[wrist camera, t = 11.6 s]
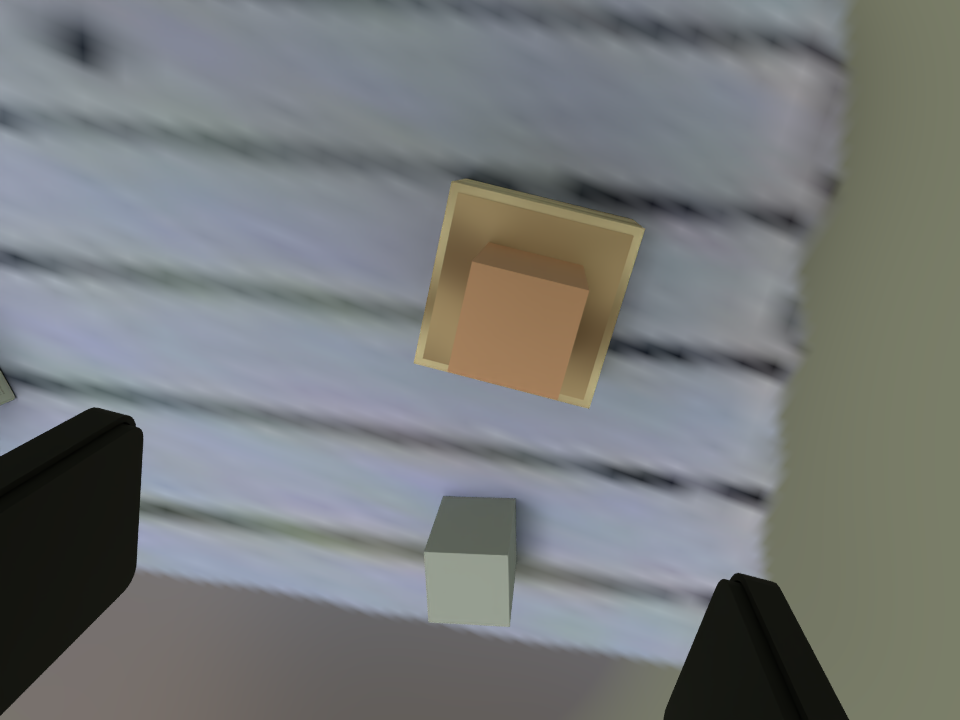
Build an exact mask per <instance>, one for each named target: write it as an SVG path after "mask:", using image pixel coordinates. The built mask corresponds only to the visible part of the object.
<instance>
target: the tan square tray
mask: <svg viewBox="0 0 960 720" xmlns="http://www.w3.org/2000/svg"><path fill="white" fill-rule="evenodd" d="M644 230H645V229H644V228H643V227H642V226H640V225H639V224H638V223H637V222H635V221H634V220H633V219H629V218H625V217H621V216H617V215H613V214H609V213H604V212H600V211H596V210H592V209H588V208H584V207H580V206H576V205H572V204H568V203H564V202H560V201H556V200H552V199H548V198H544V197H539V196H535V195H531V194H527V193H523V192H519V191H515V190H511V189H507V188H503V187H499V186H495V185H491V184H487V183H483V182H479V181H474V180H470V179H462V180H456V181H452V182H451V187H450V192H449V196H448V201H447V206H446V211H445V216H444V220H443V225H442V230H441V235H440V240H439V244H438V249H437V254H436V259H435V264H434V268H433V273H432V278H431V283H430V288H429V292H428V297H427V302H426V307H425V312H424V316H423V321H422V326H421V331H420V336H419V340H418V345H417V350H416V355H415V360H414V363H415V364H419V365H423V366H426V367H430V368H434V369H438V370H442V371H446V372H447V371H448V366H449V362H450V357H451V353H452V349H453V344H454V340H455V335H456V331H457V326H458V322H459V317H460V313H461V308H462V304H463V299H464V295H465V291H466V286H467V282H468V277H469V273H470V268H471V264H472V261H473V260H474V259H475V257H476V256H477V255H478V254H479V253H480V252H481V250H482V249H483V248H484V247H485V246H486V245H487V244H488V242H490V243H494V244H498V245H502V246H506V247H510V248H514V249H518V250H522V251H526V252H530V253H534V254H538V255H542V256H547V257H551V258H555V259H559V260H563V261H567V262H571V263H575V264H579V265H583V267H584V271H585V275H586V279H587V283H588V287H589V293H588V297H587V300H586V304H585V307H584V311H583V314H582V318H581V321H580V325H579V328H578V332H577V335H576V339H575V342H574V346H573V349H572V352H571V356H570V359H569V363H568V366H567V370H566V373H565V377H564V380H563V384H562V387H561V391H560V394H559V398H558V400H557V401H561V402H565V403H569V404H573V405H577V406H581V407H584V408H588V409H589V408H590V404H591V401H592V398H593V395H594V391H595V388H596V385H597V382H598V379H599V375H600V372H601V369H602V366H603V362H604V359H605V356H606V353H607V350H608V346H609V343H610V340H611V337H612V333H613V330H614V327H615V324H616V321H617V317H618V314H619V311H620V308H621V304H622V301H623V298H624V295H625V292H626V288H627V285H628V282H629V279H630V275H631V272H632V269H633V266H634V263H635V259H636V256H637V253H638V250H639V246H640V243H641V240H642V237H643V234H644ZM453 374H454V373H453ZM457 375H458V374H457ZM461 376H462V375H461ZM465 377H466V376H465ZM469 378H470V377H469ZM473 379H474V378H473ZM477 380H478V379H477ZM480 381H481V380H480ZM484 382H485V381H484ZM488 383H489V382H488ZM492 384H493V383H492ZM496 385H497V384H496ZM500 386H501V385H500ZM503 387H505V386H503ZM507 388H509V387H507ZM511 389H513V388H511ZM515 390H517V389H515ZM519 391H520V390H519ZM523 392H524V391H523ZM527 393H528V392H527ZM530 394H532V393H530ZM534 395H536V394H534ZM538 396H540V395H538ZM542 397H544V396H542ZM546 398H548V397H546ZM550 399H552V398H550ZM554 400H556V399H554Z"/></svg>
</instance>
